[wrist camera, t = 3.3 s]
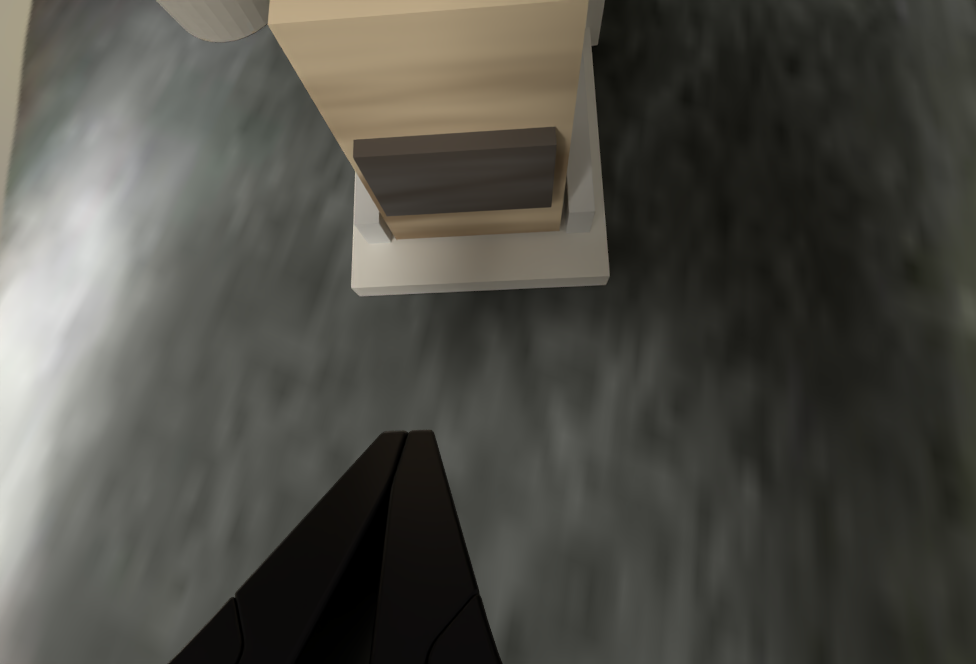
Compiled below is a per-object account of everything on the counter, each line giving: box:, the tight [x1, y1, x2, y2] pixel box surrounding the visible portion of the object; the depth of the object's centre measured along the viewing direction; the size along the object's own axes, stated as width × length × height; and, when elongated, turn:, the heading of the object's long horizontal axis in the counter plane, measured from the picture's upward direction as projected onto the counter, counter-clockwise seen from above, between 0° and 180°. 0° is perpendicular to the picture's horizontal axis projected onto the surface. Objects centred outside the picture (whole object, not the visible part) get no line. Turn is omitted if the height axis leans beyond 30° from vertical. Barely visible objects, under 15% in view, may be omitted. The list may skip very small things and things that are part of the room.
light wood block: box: [268, 0, 589, 240], centre depth 18 cm, size 5×7×12 cm, turn 91°
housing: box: [351, 0, 610, 296], centre depth 24 cm, size 22×12×6 cm, turn 1°
